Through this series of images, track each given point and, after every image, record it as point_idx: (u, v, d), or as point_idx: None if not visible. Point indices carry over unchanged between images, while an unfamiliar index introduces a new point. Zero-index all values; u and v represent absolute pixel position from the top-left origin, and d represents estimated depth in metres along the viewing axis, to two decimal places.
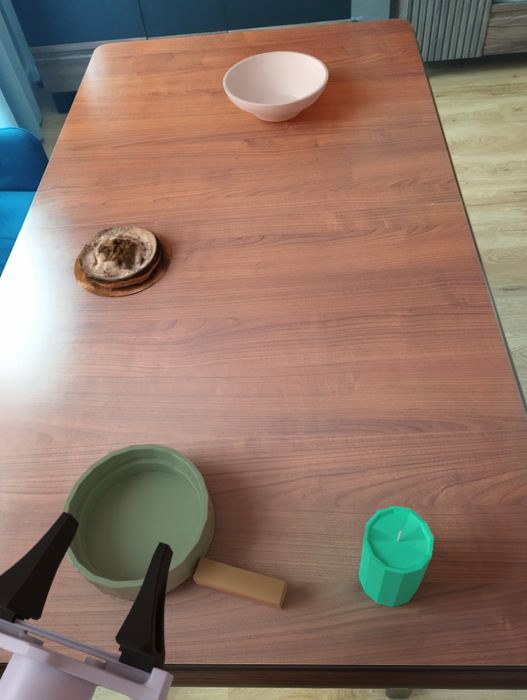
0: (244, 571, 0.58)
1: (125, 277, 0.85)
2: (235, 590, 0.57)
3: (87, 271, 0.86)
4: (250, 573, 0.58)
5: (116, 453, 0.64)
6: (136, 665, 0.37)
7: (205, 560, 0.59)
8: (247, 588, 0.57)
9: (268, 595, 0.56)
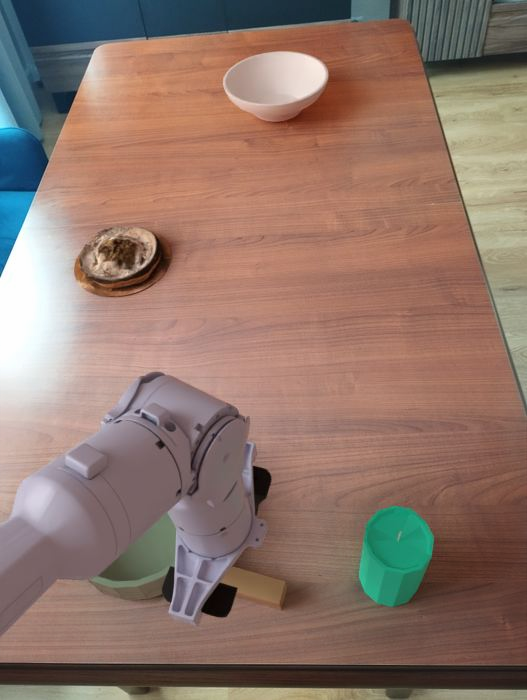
0: (244, 571, 0.58)
1: (125, 277, 0.85)
2: None
3: (87, 271, 0.86)
4: (250, 573, 0.58)
5: None
6: None
7: None
8: (247, 588, 0.57)
9: (268, 595, 0.56)
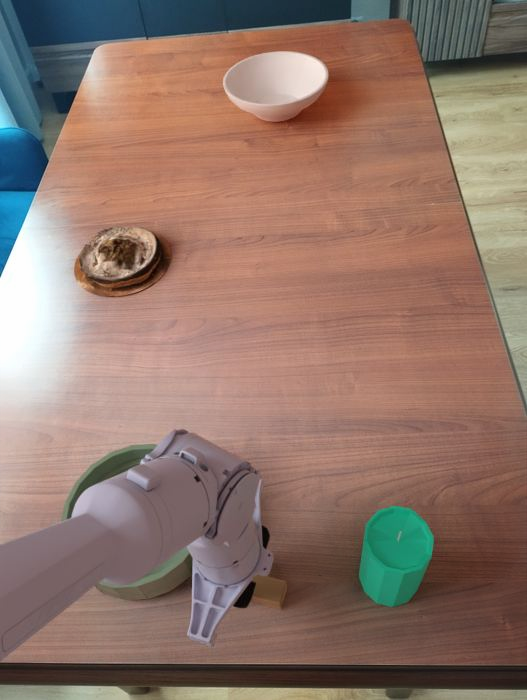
0: None
1: (125, 277, 0.85)
2: None
3: (87, 271, 0.86)
4: None
5: (116, 453, 0.64)
6: None
7: None
8: None
9: (268, 595, 0.56)
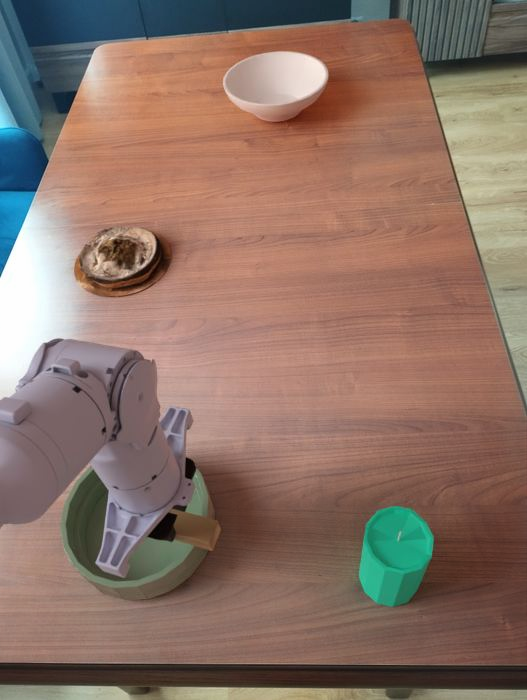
0: (175, 510, 0.55)
1: (125, 277, 0.85)
2: None
3: (87, 271, 0.86)
4: (181, 512, 0.55)
5: None
6: None
7: None
8: (176, 527, 0.54)
9: (198, 534, 0.53)
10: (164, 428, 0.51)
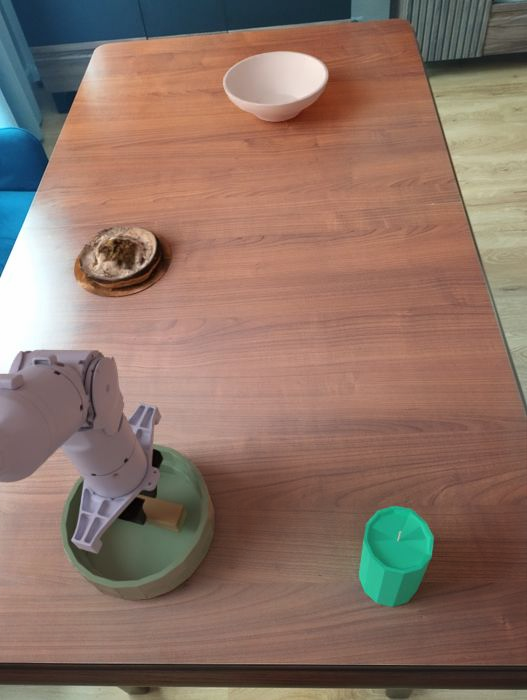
0: (146, 497, 0.61)
1: (125, 277, 0.85)
2: None
3: (87, 271, 0.86)
4: (151, 499, 0.61)
5: None
6: None
7: None
8: (147, 512, 0.60)
9: (166, 518, 0.60)
10: (134, 423, 0.58)
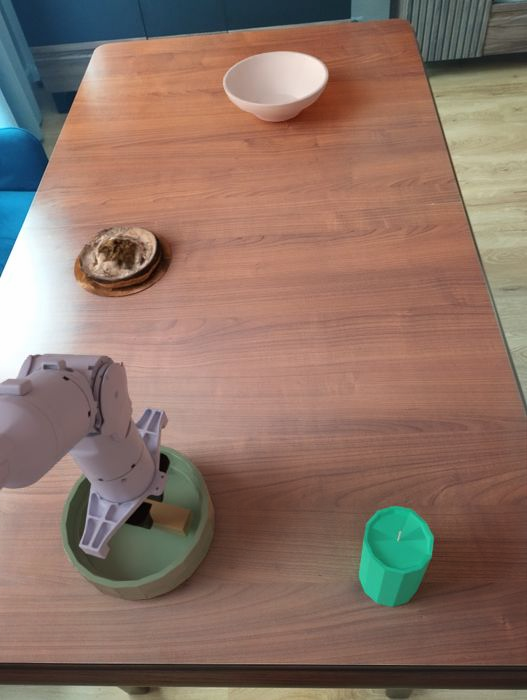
0: (152, 501, 0.61)
1: (125, 277, 0.85)
2: None
3: (87, 271, 0.86)
4: (158, 503, 0.61)
5: None
6: None
7: None
8: (153, 516, 0.60)
9: (173, 522, 0.59)
10: (141, 427, 0.57)
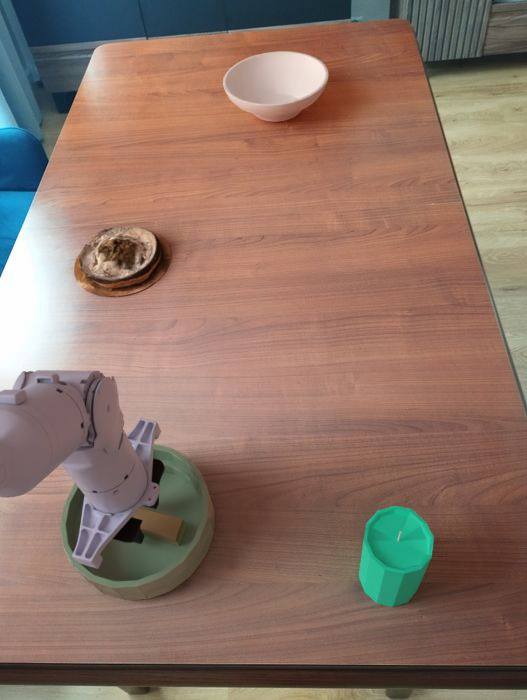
0: (146, 510, 0.62)
1: (125, 277, 0.85)
2: None
3: (87, 271, 0.86)
4: (151, 512, 0.62)
5: None
6: None
7: None
8: (147, 525, 0.61)
9: (166, 531, 0.60)
10: (134, 438, 0.58)
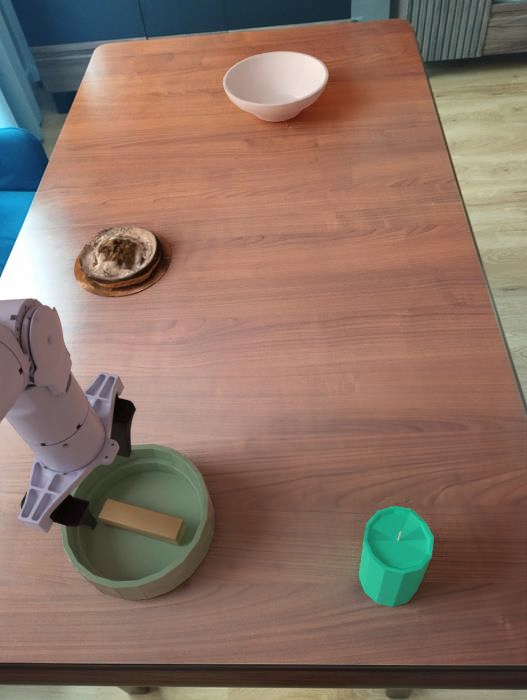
0: (146, 510, 0.62)
1: (125, 277, 0.85)
2: (136, 527, 0.61)
3: (87, 271, 0.86)
4: (151, 512, 0.62)
5: None
6: (58, 507, 0.48)
7: (111, 501, 0.63)
8: (147, 525, 0.61)
9: (166, 531, 0.60)
10: (94, 393, 0.53)
